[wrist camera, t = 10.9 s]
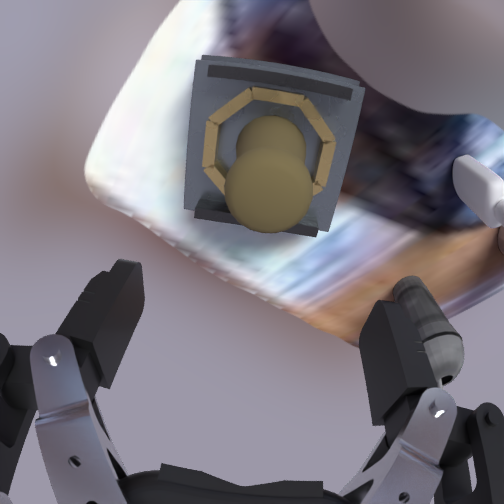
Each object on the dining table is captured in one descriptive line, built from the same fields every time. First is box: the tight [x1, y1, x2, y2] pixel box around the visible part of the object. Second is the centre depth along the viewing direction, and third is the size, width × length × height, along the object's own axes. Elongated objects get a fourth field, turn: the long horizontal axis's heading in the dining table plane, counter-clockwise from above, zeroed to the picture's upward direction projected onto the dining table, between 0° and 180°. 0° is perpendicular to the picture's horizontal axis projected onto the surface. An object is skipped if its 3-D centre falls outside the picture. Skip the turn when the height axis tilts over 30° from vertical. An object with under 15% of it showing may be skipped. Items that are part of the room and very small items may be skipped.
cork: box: [224, 115, 313, 233], centre depth 22 cm, size 6×6×11 cm
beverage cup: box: [393, 276, 464, 389], centre depth 31 cm, size 7×7×20 cm
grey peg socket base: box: [184, 55, 365, 237], centre depth 27 cm, size 15×15×7 cm
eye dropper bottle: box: [453, 155, 504, 228], centre depth 25 cm, size 4×6×12 cm
